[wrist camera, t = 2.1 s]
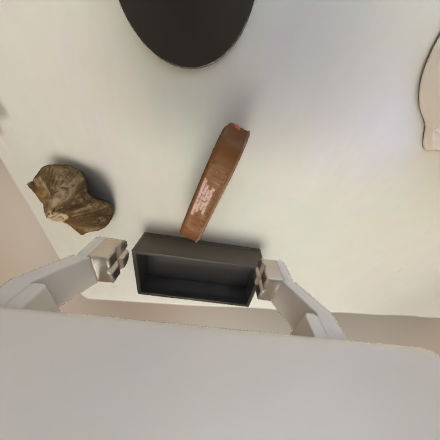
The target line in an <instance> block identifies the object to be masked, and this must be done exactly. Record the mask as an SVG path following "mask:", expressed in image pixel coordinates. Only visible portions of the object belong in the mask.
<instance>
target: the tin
mask: <svg viewBox="0 0 440 440" xmlns="http://www.w3.org/2000/svg"><path fill="white" fill-rule="evenodd" d="M249 135H250V131H246V130H244V129H242V128H240V127H239V126H237V125H235V124H233V123H229V124H228V125H227V126H225V128H224V129H223V131H222V132H221V134H220V136H219V138H218V140H217V142H216V145H215V147H214V149H213V151H212V154H211V156H210V158H209V160H208V163H207V165H206V167H205V170H204V172H203V174H202V177H201V179H200V182H199V184H198V186H197V189H196V191H195V194H194V196H193V198H192V201H191V203H190V206H189V208H188V211H187V214H186V216H185V219H184V221H183V224H182V227H181V230H180V234H181V235H182V236H184V237H187V238H189V239H191V240H194V241H195V242H196V243H197V242H198V240H199V239H200V237H201V235H202V233H203V232H204V230H205V228H206V226H207V224H208V222H209V220H210V218H211V216H212V214H213V212H214V210H215V208H216V206H217V204H218V202H219V200H220V198H221V196H222V194H223V192H224V190H225V188H226V186H227V184H228V182H229V180H230V178H231V176H232V174H233V172H234V170H235V168H236V166H237V164H238V162H239V160H240V157H241V155H242V153H243V151H244V148H245V146H246V143H247V141H248V138H249Z"/></svg>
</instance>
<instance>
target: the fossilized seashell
mask: <svg viewBox="0 0 440 440" xmlns="http://www.w3.org/2000/svg"><path fill="white" fill-rule="evenodd" d="M27 185H28V186H29V188H30V189H32V191H33V192H34V193H35V194H36V195H37V197H38V198H39V200H40V201H41V202H42V203H43V205H44V212H45V215H46V217H47V218H48V219H51V220H53V221H61V222H64V223H67V224H68V225H70V226H71V227H72V228H74V229H75V230H76V231H77V232H78V233H79V234H81V235H84V234H85V233H88V232H91V231H98V230H100V229H102V228H105V227H106V226H107V225H108V224H109V222H110V220H111V219H112V217H113V207H112V205H111V204H110V203H109V202H108V201H105V200H104V199H101V198H99V197H97V196H95V195H93V194H92V193H91V191H90V187H89V184H88V180H87V179H86V177H85V176H84V174H83V172H82V171H80V170H78V169H77V168H74V167H72V166H69V165H57V164H53V165H47V166H44V167H42V168H41V169H40V171H39V172H38V174H37V175H36V176H35V177H34V179H33V181H32V182H29V183H28V184H27Z"/></svg>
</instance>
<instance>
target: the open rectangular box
mask: <svg viewBox="0 0 440 440" xmlns="http://www.w3.org/2000/svg"><path fill="white" fill-rule="evenodd" d="M132 257H133V263H134V270H135V277H136V284H137V290H138V294H144V295H152V296H161V297H169V298H178V299H186V300H195V301H203V302H212V303H220V304H229V305H237V306H246V307H249V305H250V302H251V300H252V298H253V295H254V293H255V291H256V287H257V285H256V284H255V283H254V270H255V268H256V267H258V264H257V262H258V260H259V259H262V255H261V252H260V249H256V248H249V247H242V246H235V245H228V244H221V243H214V242H207V241H200V240H198V242H197V243H196V242H195V241H194V240H191V239H186V238H179V237H172V236H165V235H158V234H151V233H144V234H143V235H142V237H141V238H140V239H139V241H138V242H137V244H136V245H135V246H134V248H133V249H132Z"/></svg>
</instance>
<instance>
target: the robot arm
mask: <svg viewBox="0 0 440 440" xmlns="http://www.w3.org/2000/svg"><path fill="white" fill-rule="evenodd" d="M419 104H420V110H421V113H422V116H423V118H424V121H425V132H424V138H423V147H424V149H425V150H431V151H440V36H439V38H438V40H437V42H436V44H435V45H434V47H433V49H432V51H431V54H430V56H429V58H428V61H427V63H426V66H425V69H424V72H423V75H422V79H421V84H420V91H419ZM126 247H127V241H125V240H119V239H112V238H105V237H96V238H95V239H94V240H93V241H91V242H90V243H89V244H88V245H87V246H86V247H85V248H84V249H83V250H81V251H80V252H79V253H78V254H77V255H72V256H69V257H66V258H64V259H61V260H59V261H56V262H53V263H51V264H48V265H46V266H43V267H40V268H38V269H35V270H33V271H30V272H28V273H25V274H22V275H20V276H17V277H15V278H12V279H10V280H9V281H7V282H6V283H4V284H3V285H2V286H0V440H440V356H439V355H437V354H435V353H434V352H432V351H430V350H427V349H424V348H418V347H409V346H398V345H389V344H379V343H368V342H358V341H348V339H347V338H346V336H345V334H344V333H343V331H342V329H341V328H340V326H339V324H338V322H337V321H336V319H335V317H334V315H333V314H331V313H330V312H329V311H328V310H327V309H326V308H325V307H323V306H322V305H321V304H320V303H319V302H318V301H317V300H315V299H314V298H313V297H312V296H311V295H310V294H308V293H307V292H306V291H305V290H304V289H303V288H302V287H300V286H299V285H298V284H297V283H295V282H293V280H292V278H291V276H290V273H289V271H288V269H287V267H286V265H285V263H284V262H283V261H277V260H268V259H259V260H258V262H257V264H258V267H256V268H255V270H254V283H255V284H256V285H257V287H256V293H257V298H258V299H261V300H268V301H271V302H272V303H273V305H274V306H275V307H276V309H277V310H278V311H279V313H280V314H281V315H282V317H283V318H284V319H285V321H286V322H287V323H288V325H289V326H290V327H291V329H292V330H293V331H292V332H291V334H290V335H287V334H276V333H267V332H257V331H246V330H236V329H226V328H216V327H206V326H196V325H185V324H175V323H165V322H155V321H145V320H134V319H125V318H115V317H105V316H95V315H84V314H73V313H64V312H61V311H60V310H59V307H60V306H62V305H63V304H65V303H66V302H68V301H69V300H71V299H72V298H74V297H75V296H77V295H78V294H80V293H82V292H83V291H85V290H86V289H88V288H89V287H91V286H92V285H94V284H95V283H97V281H102V282H113V283H114V281H115V280H116V278H117V277H118V275H119V274H120V269H122V268H124V267H125V265H126V264H127V261H128V258H129V253H128V251H127V250H126V249H125V248H126Z"/></svg>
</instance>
